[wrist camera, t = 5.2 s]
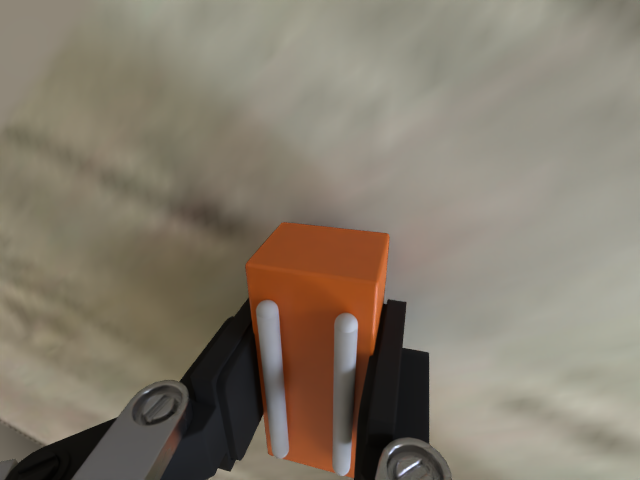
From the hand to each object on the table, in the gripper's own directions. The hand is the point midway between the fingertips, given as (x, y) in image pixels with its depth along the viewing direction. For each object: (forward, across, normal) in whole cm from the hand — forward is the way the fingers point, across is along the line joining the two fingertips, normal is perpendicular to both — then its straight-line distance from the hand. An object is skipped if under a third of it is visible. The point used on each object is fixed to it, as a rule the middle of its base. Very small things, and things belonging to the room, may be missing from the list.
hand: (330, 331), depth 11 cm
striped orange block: (0, 0, 0) cm, 0 cm away
